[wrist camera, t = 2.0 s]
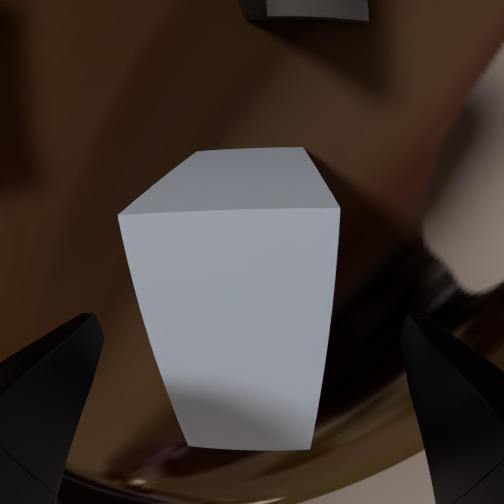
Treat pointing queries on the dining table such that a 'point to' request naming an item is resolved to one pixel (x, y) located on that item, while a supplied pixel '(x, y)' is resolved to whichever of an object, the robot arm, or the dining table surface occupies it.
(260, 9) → the bookend
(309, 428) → the pale grey upright box
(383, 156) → the dining table surface
